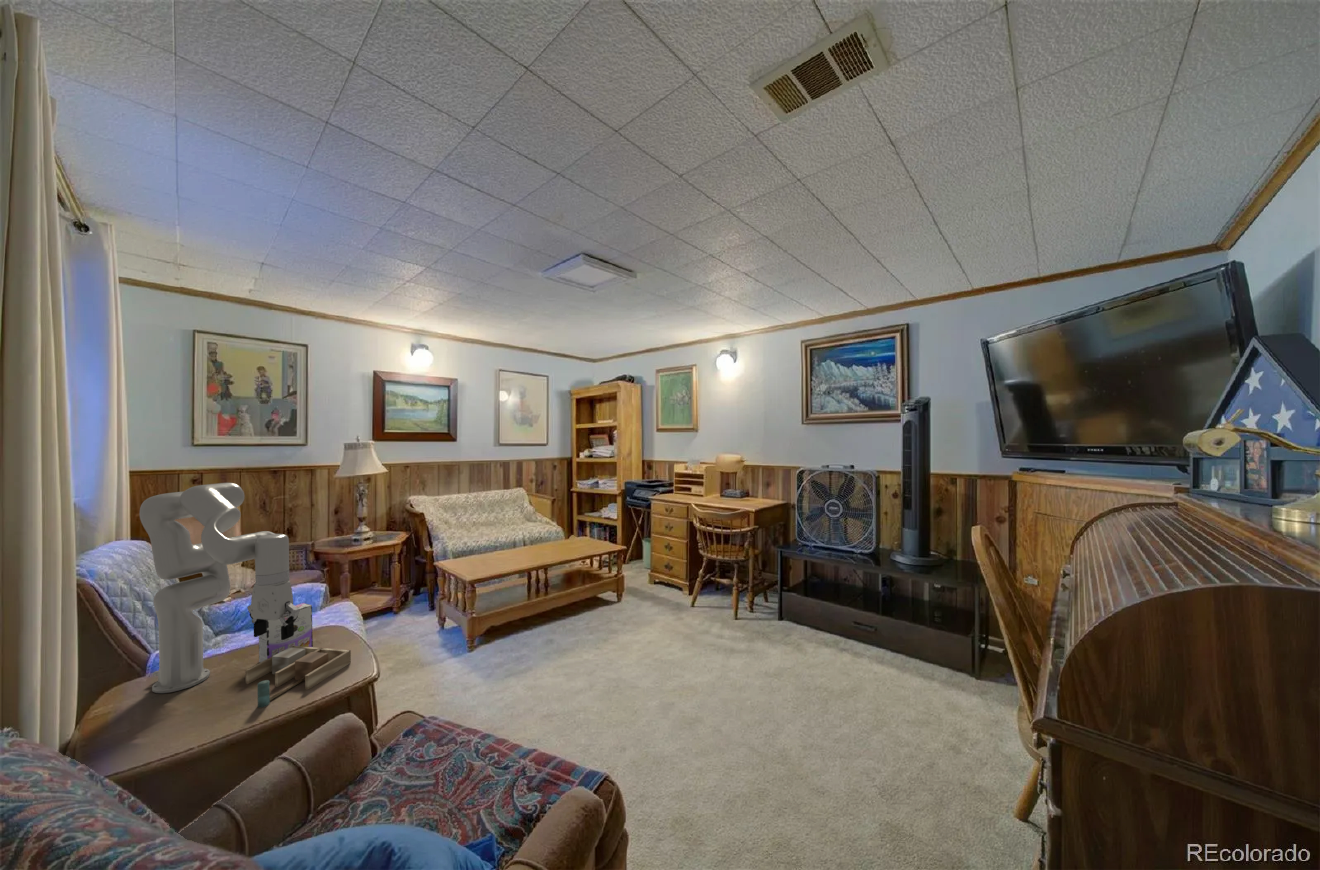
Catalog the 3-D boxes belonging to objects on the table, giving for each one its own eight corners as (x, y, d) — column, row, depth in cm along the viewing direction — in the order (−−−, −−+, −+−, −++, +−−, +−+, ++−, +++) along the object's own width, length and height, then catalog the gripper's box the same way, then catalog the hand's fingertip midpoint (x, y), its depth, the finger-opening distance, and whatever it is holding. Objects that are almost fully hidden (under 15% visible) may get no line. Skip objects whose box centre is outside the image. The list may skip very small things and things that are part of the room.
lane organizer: (245, 686, 141) (245, 670, 141) (293, 660, 157) (293, 645, 157) (308, 692, 138) (307, 675, 138) (350, 665, 154) (350, 650, 154)
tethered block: (250, 708, 130) (249, 684, 129) (312, 671, 149) (311, 650, 149) (268, 710, 129) (268, 686, 129) (328, 673, 148) (328, 651, 148)
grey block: (272, 674, 147) (272, 656, 147) (289, 665, 153) (289, 647, 153) (288, 676, 146) (288, 657, 146) (305, 666, 152) (305, 648, 152)
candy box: (304, 646, 167) (304, 601, 167) (313, 649, 165) (313, 604, 164) (258, 663, 155) (257, 615, 154) (267, 667, 152) (266, 619, 152)
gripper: (234, 580, 130) (235, 639, 130) (284, 583, 126) (285, 645, 126) (262, 572, 137) (263, 628, 137) (309, 575, 134) (310, 633, 134)
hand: (273, 636), depth 132 cm, fingers open, 9 cm apart
